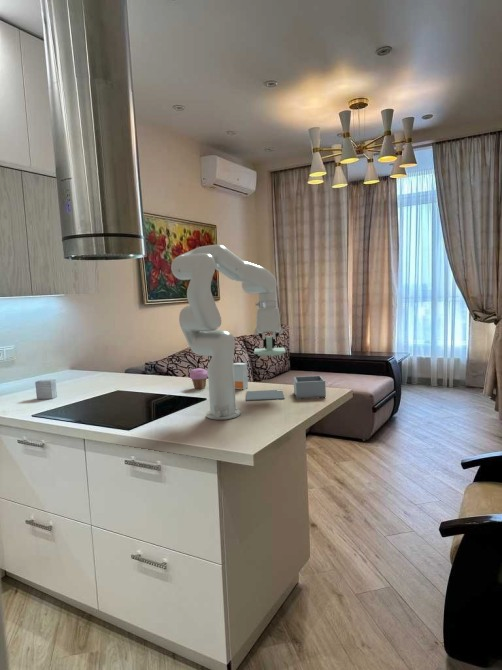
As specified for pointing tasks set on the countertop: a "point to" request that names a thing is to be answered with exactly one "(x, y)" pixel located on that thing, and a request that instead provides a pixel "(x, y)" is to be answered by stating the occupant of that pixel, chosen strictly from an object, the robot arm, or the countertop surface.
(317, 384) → the tub
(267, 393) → the mat
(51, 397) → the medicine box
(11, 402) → the countertop surface
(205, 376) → the cupcake
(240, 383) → the skincare box
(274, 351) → the lid
